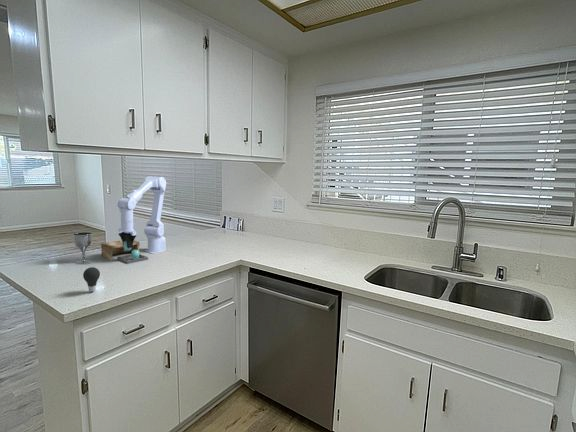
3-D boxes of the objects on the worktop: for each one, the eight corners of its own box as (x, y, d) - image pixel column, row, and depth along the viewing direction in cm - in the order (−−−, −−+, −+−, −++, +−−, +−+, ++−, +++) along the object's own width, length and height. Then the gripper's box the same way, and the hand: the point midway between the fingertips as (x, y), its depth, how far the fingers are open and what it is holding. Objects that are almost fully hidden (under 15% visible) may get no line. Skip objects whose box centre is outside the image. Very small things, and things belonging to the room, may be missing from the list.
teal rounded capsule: (129, 248, 168) (129, 240, 167) (132, 249, 166) (132, 241, 165) (122, 249, 165) (122, 241, 164) (126, 251, 163) (125, 242, 162)
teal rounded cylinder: (139, 256, 172) (139, 249, 171) (139, 259, 169) (138, 251, 167) (132, 257, 170) (131, 249, 169) (131, 260, 167) (131, 252, 166)
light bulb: (86, 295, 121) (85, 270, 119) (81, 291, 124) (80, 267, 123) (102, 292, 125) (101, 267, 123) (97, 288, 128) (96, 264, 127)
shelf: (130, 250, 185) (130, 239, 184) (139, 254, 179) (139, 242, 178) (101, 256, 172) (101, 243, 171) (110, 259, 167) (109, 246, 166)
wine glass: (84, 265, 156) (82, 235, 153) (70, 263, 157) (68, 234, 155) (96, 261, 163) (95, 232, 161) (83, 259, 165) (82, 231, 163)
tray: (137, 257, 176) (137, 253, 176) (148, 261, 169) (148, 257, 169) (117, 260, 167) (117, 256, 167) (127, 265, 161) (127, 261, 160)
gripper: (112, 220, 164) (113, 245, 166) (126, 224, 156) (126, 250, 158) (126, 219, 170) (126, 243, 172) (140, 222, 161) (140, 248, 163)
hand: (127, 246), depth 165 cm, fingers closed on teal rounded capsule, 4 cm apart
